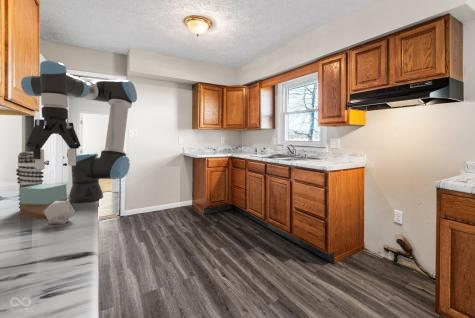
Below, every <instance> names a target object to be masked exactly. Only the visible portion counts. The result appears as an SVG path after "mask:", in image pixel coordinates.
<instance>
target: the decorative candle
mask: <svg viewBox="0 0 475 318" xmlns="http://www.w3.org/2000/svg"><path fill="white" fill-rule="evenodd" d="M17 161H18V162H17V167H18V168H16V170H15V171H16V172H17V173H16V174H15V175H16V176H18V177H17V178H16V180H17V182H16V183H17V185H19V188H22V187H27V186H33V185H39V184H43V183H44V179H43V178H44V171H42V170H44V169H35V159H34V158H33V151H21V152H19V153H18V155H17ZM19 188H18V189H19ZM17 197H18V201H19V202H18V209H19V212H20V195H19V194H18V195H17Z"/></svg>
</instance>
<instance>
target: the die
mask: <svg viewBox="0 0 475 318" xmlns="http://www.w3.org/2000/svg"><path fill="white" fill-rule="evenodd" d="M43 212H44V214H45V216H46V217H47V219H46V220H48V222H49V224H50V225H59V224H60V225H61V224H62V225H65V224H66V223H67V222H68V221H69V220H70V219H71V218H72V217H73V216H74V215H75V214H76V211H75V210H74V208H73V206H72V204H71V202H70V201H69V200H67V201H55V202H53V203H52V204H51V205H50V206H49V207H48V208H47V209H46V210H44V211H43Z"/></svg>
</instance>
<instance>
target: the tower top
mask: <svg viewBox="0 0 475 318" xmlns="http://www.w3.org/2000/svg"><path fill="white" fill-rule="evenodd" d="M67 189H68V188H67V183H65V184H64V183H42V184H39V185H33V186H27V187H22V188H18V195H20V197H19V198H20V201H19V202H20V203H21V204H48V203H52V202H55V201H59V200H63V199H66V198H67V199H68V192H67Z"/></svg>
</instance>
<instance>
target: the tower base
mask: <svg viewBox="0 0 475 318" xmlns="http://www.w3.org/2000/svg"><path fill="white" fill-rule="evenodd" d="M59 201H68V197H67V198H66V199H63V200H59ZM52 203H53V202H52ZM52 203H48V204H21V203H20V205H19V206H20V208H19V210H20V211H19V212H20V213H19V215H20V219H30V220H34V219H35V220H48V219H47V217H46V216H45V214H44V212H43V211H44V210H46V209H47V208H48V207H49V206H50V205H51V204H52Z"/></svg>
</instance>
